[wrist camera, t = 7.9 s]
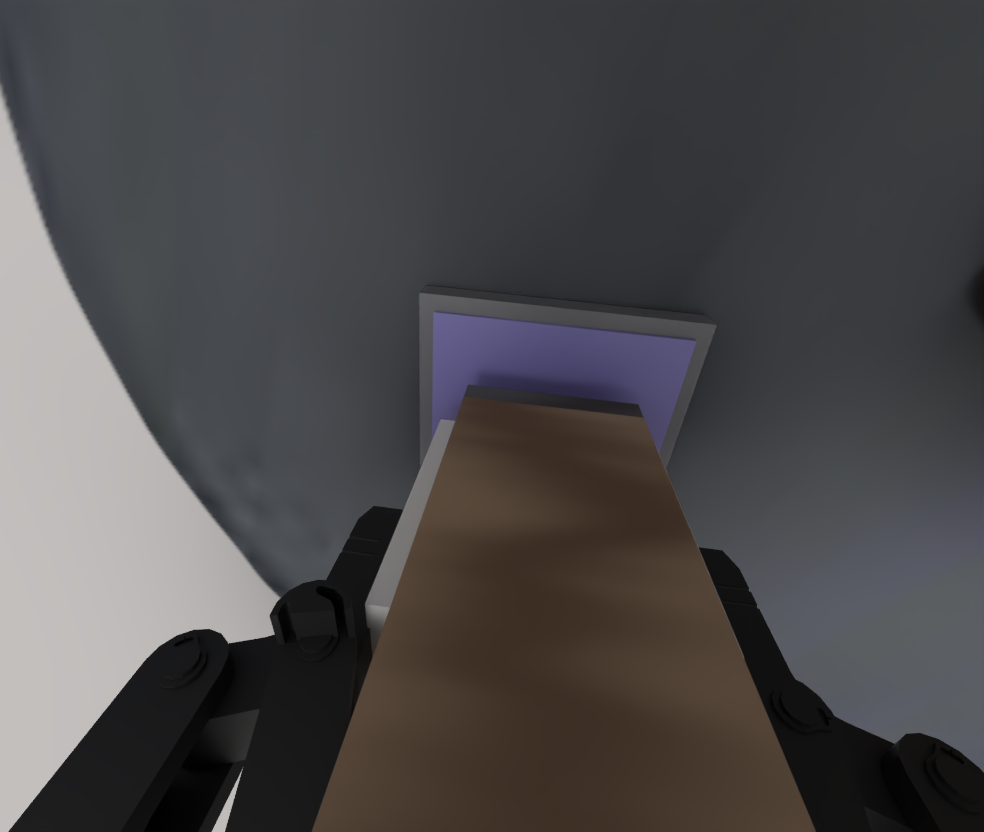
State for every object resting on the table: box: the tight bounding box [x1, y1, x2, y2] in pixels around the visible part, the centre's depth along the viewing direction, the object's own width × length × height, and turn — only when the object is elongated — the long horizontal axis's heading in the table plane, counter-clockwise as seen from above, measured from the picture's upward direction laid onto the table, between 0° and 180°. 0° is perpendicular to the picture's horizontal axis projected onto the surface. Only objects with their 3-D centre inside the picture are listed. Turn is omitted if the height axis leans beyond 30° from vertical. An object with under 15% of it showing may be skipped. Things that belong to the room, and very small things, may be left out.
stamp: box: [312, 384, 816, 832], centre depth 10 cm, size 5×5×10 cm
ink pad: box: [419, 285, 717, 469], centre depth 16 cm, size 9×9×1 cm
